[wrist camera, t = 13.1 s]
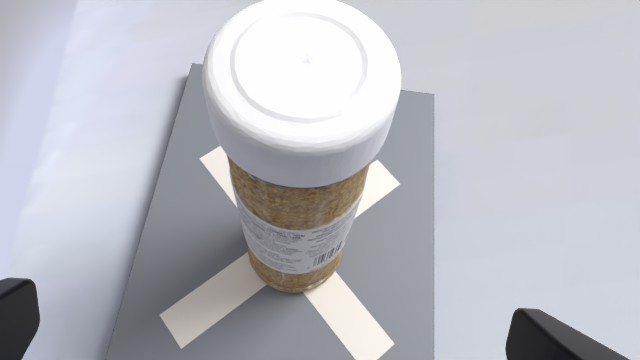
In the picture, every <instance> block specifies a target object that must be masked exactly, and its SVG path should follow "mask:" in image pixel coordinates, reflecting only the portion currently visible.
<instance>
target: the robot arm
mask: <svg viewBox="0 0 640 360" xmlns="http://www.w3.org/2000/svg"><path fill="white" fill-rule="evenodd" d="M39 323H40V314H39V307H38V299H37V291H36V286H35V283H34V282H33V281H32V280H31V279H24V278H6V279H3V280H0V360H21V359H22V357H23V356H24V354H25V352H26V350H27V348H28V347H29V345H30V343H31V341H32V339H33V338H34V336H35V334H36V332H37V330H38V327H39ZM506 356H507V360H629V359H628V358H626V357H624V356H622V355H620V354H619V353H617V352H615V351H613V350H611V349H610V348H608V347H606V346H604V345H602V344H601V343H599V342H597V341H595V340H593V339H592V338H590V337H588V336H586V335H584V334H583V333H581V332H579V331H577V330H575V329H574V328H572V327H570V326H568V325H566V324H565V323H563V322H561V321H559V320H557V319H556V318H554V317H552V316H550V315H548V314H546V313H545V312H543V311H541V310H539V309H529V308H518V309H517V310H515V312H514V314H513V317H512V321H511V325H510V329H509V333H508V337H507V341H506Z"/></svg>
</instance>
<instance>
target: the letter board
mask: <svg viewBox="0 0 640 360" xmlns="http://www.w3.org/2000/svg"><path fill="white" fill-rule="evenodd" d="M202 69H203V65H202V64H194V63H192V65H191V69H190V72H189V75H188V79H187V82H186V86H185V89H184V92H183V96H182V99H181V103H180V106H179V109H178V113H177V116H176V120H175V123H174V126H173V130H172V133H171V137H170V140H169V143H168V147H167V150H166V154H165V157H164V160H163V164H162V167H161V171H160V174H159V177H158V181H157V184H156V188H155V191H154V194H153V198H152V201H151V205H150V208H149V211H148V215H147V218H146V222H145V225H144V228H143V232H142V235H141V239H140V242H139V245H138V249H137V252H136V256H135V259H134V262H133V266H132V269H131V273H130V276H129V279H128V283H127V286H126V290H125V293H124V296H123V300H122V303H121V307H120V310H119V313H118V317H117V320H116V324H115V327H114V330H113V334H112V337H111V341H110V344H109V347H108V351H107V354H106V358H105V360H434V94H429V93H421V92H413V91H405V90H400V95H399V99H398V102H397V106H396V109H395V113H394V116H393V119H392V123H391V126H390V129H389V132H388V134H387V137H386V139H385V141H384V144H383V145H382V147H381V149H380V150H379V152H378V153H377V154H376V155H375V157H374V158H373V159H372V160H371V162H370V166H369V170H368V173H367V180H366V185H365V188H364V192H363V195H362V198H361V201H360V203H359V206H358V209H357V212H356V215H355V218H354V220H353V223H352V226H351V229H350V232H349V234H348V237H347V240H346V242H345V244H344V246H343V248H342V256H341V260H340V263H339V264H338V266H337V269H336V271H335V272H334V273H333V275H332V276H331V277H329V278H328V279H327V280H326V282H324V283H323V284H321V285H319V286H318V287H317V288H315V289H312V290H309V291H304V292H299V293H296V292H294V293H291V292H285V291H279V290H276V289H275V288H273V287H271V286H269V285H267V284H266V283H265V282H264V281H263V280H262V279H261V278H259V276H258V275H257V274H256V272H255V270H254V269H253V268H252V266H251V264H250V260H249V255H248V248H247V242H246V239H245V235H244V232H243V228H242V224H241V221H240V216H239V212H238V208H237V203H236V199H235V195H234V191H233V187H232V183H231V178H230V172H229V169H230V167H229V163H228V158H227V154H226V153H225V152H224V150H223V149H222V147H221V146H220V145H219V143H218V141H217V139H216V137H215V134H214V131H213V128H212V124H211V120H210V116H209V112H208V108H207V104H206V100H205V94H204V89H203V82H202Z"/></svg>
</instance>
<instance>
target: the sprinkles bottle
mask: <svg viewBox="0 0 640 360" xmlns="http://www.w3.org/2000/svg"><path fill="white" fill-rule="evenodd" d="M202 82H203V89H204V94H205V100H206V104H207V108H208V112H209V116H210V120H211V124H212V128H213V131H214V134H215V137H216V139H217V141H218V143H219V145H220V146H221V147H222V149H223V150H224V152H225V153H226V154H227V158H228V163H229V167H230V169H229V172H230V178H231V183H232V187H233V191H234V195H235V199H236V203H237V208H238V212H239V216H240V221H241V224H242V228H243V232H244V235H245V239H246V242H247V248H248V255H249V260H250V264H251V266H252V268H253V269H254V270H255V272H256V274H257V275H258V276H259V278H261V279H262V280H263V281H264V282H265V283H266V284H267V285H269V286H271V287H273V288H275V289H276V290H279V291H285V292H291V293H294V292H296V293H299V292H304V291H309V290H312V289H315V288H317V287H318V286H319V285H321V284H323V283H324V282H326V280H327V279H328V278H329V277H331V276H332V275H333V273H334V272H335V271H336V269H337V266H338V264H339V263H340V260H341V256H342V248H343V246H344V244H345V242H346V240H347V237H348V234H349V232H350V229H351V226H352V223H353V220H354V218H355V215H356V212H357V209H358V206H359V203H360V201H361V198H362V195H363V192H364V188H365V185H366V180H367V173H368V170H369V166H370V162H371V160H372V159H373V158H374V157H375V155H376V154H377V153H378V152H379V150H380V149H381V147H382V145H383V144H384V141H385V139H386V137H387V134H388V132H389V129H390V126H391V123H392V119H393V116H394V113H395V109H396V106H397V102H398V99H399V95H400V89H401V70H400V64H399V61H398V57H397V54H396V52H395V49H394V47H393V45H392V44H391V42H390V40H389V39H388V37H387V36H386V35H385V33H384V32H383V31H382V30H381V29H380V28H379V27H378V25H377V24H376V23H374V22H373V21H372V20H371V19H370V18H368V17H367V16H365V15H364V14H363V13H361V12H359V11H358V10H356V9H354V8H353V7H351V6H349V5H346V4H344V3H341V2H338V1H335V0H263V1H261V2H258V3H255V4H253V5H251V6H249V7H247V8H245V9H243V10H241V11H240V12H238V13H237V14H235V15H234V16H233V17H231V18H230V19H229V20H228V21H227V22H225V23H224V24H223V26H222V27H221V28H220V29H219V30H218V32H217V33H216V34H215V35H214V37H213V39H212V41H211V43H210V45H209V46H208V49H207V51H206V54H205V57H204V62H203V69H202Z"/></svg>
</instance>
